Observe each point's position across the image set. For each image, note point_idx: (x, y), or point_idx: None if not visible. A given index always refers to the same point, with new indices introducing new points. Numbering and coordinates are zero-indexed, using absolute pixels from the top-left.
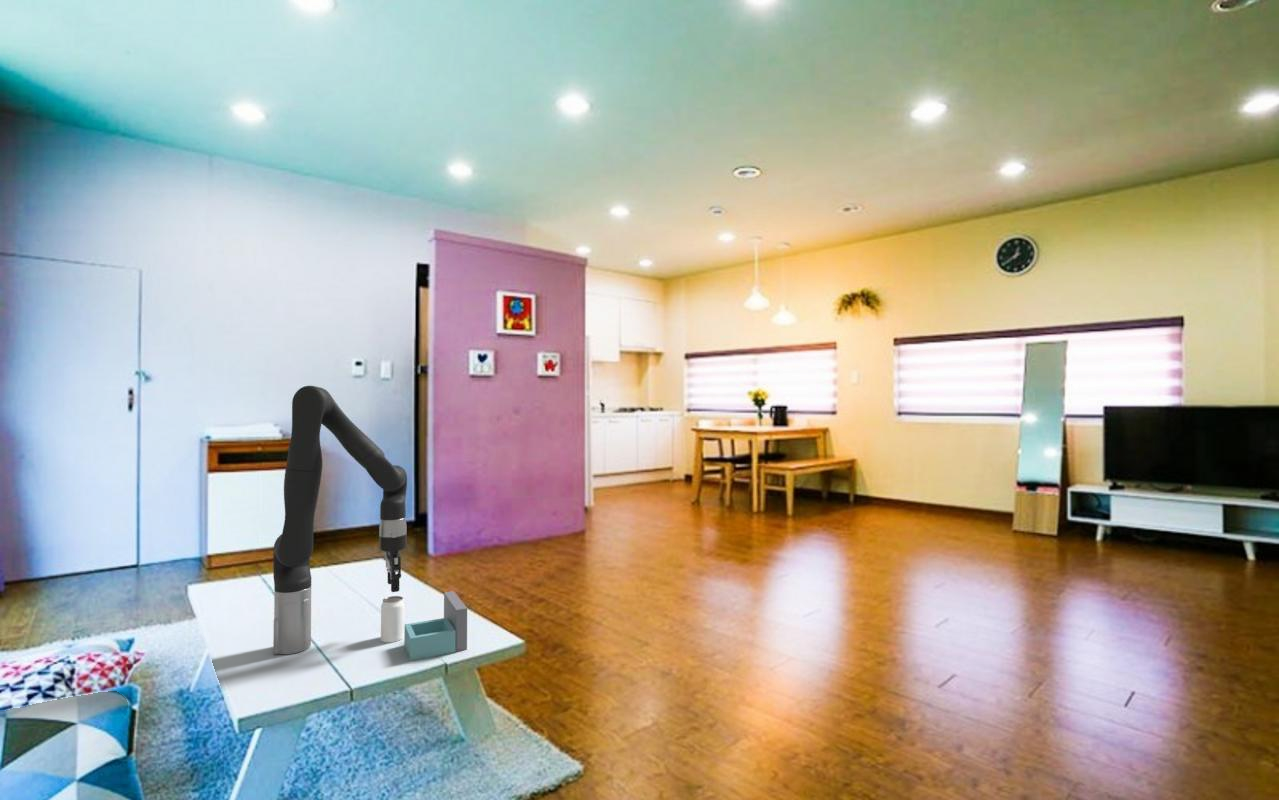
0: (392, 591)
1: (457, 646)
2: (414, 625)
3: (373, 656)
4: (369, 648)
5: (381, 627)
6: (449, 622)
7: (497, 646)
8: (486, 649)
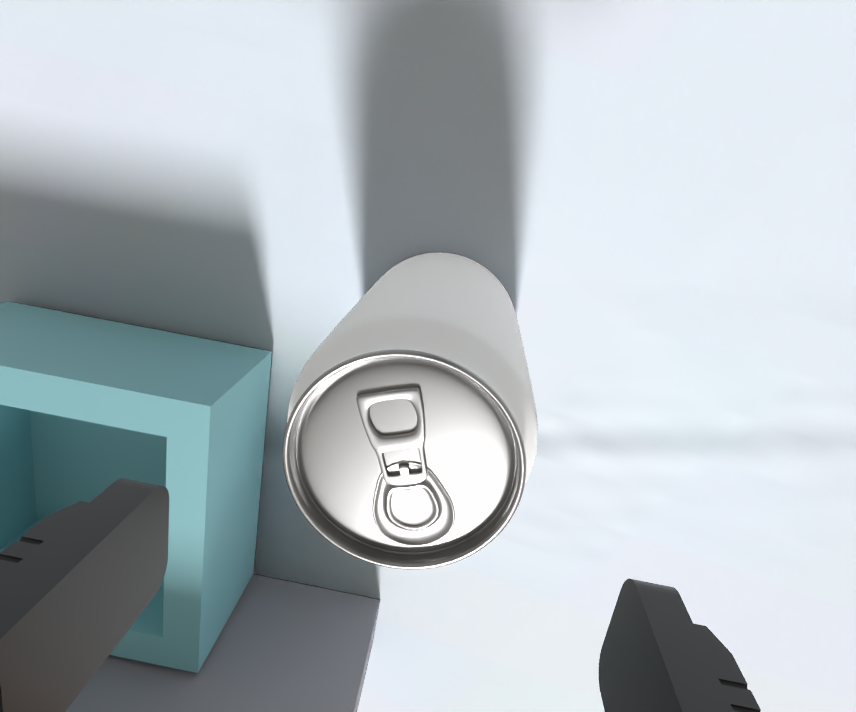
0: (125, 490)
1: None
2: (170, 458)
3: (204, 130)
4: (366, 145)
5: (426, 268)
6: None
7: None
8: None
